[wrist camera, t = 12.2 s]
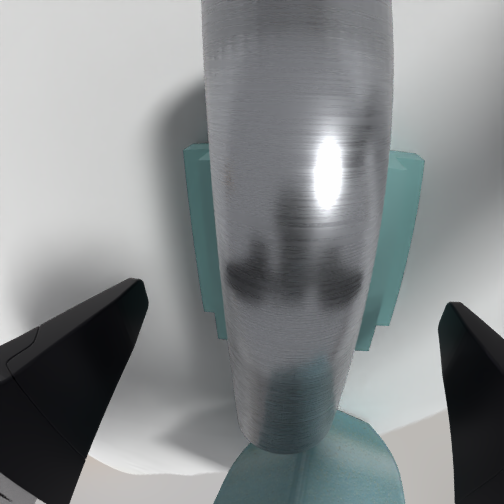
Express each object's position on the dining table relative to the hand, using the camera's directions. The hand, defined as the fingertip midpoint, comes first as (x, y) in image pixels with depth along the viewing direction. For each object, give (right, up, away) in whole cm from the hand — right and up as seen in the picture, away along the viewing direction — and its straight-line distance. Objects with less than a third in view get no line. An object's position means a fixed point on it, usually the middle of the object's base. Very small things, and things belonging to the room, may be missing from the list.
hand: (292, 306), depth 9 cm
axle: (0, +2, +2) cm, 3 cm away
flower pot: (+3, -10, +11) cm, 15 cm away
